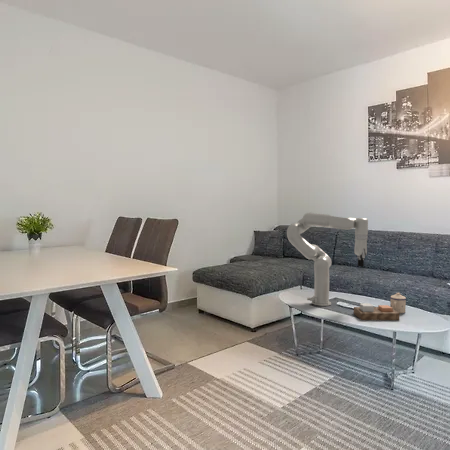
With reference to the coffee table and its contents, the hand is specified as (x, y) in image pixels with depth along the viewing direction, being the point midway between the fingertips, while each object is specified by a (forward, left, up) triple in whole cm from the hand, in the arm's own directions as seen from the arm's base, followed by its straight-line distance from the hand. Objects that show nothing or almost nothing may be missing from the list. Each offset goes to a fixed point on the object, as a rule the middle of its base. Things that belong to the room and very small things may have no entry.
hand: (360, 266), depth 246 cm
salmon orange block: (+8, -19, -26) cm, 33 cm away
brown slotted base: (+3, -19, -27) cm, 33 cm away
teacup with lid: (+20, -9, -27) cm, 35 cm away
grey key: (-3, -19, -25) cm, 31 cm away
